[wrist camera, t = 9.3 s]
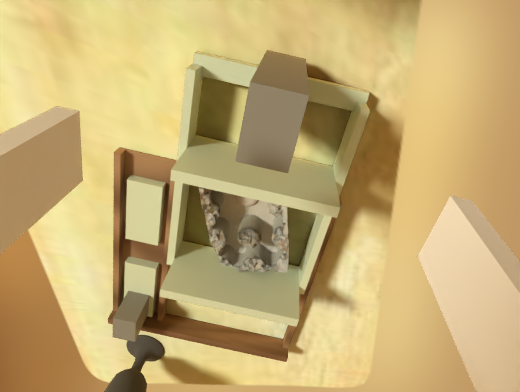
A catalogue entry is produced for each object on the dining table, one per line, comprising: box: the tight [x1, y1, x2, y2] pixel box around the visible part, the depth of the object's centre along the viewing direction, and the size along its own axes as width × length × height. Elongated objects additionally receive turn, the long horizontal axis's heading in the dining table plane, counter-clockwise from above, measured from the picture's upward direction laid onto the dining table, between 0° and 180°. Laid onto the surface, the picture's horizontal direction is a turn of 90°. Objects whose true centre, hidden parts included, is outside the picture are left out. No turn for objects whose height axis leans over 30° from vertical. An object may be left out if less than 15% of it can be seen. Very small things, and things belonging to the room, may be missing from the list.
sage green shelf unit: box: [159, 50, 370, 327], centre depth 29 cm, size 21×14×12 cm, turn 168°
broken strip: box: [113, 175, 166, 342], centre depth 38 cm, size 18×3×5 cm, turn 168°
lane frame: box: [108, 148, 341, 362], centre depth 39 cm, size 21×21×2 cm
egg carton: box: [199, 187, 289, 273], centre depth 34 cm, size 11×8×4 cm
